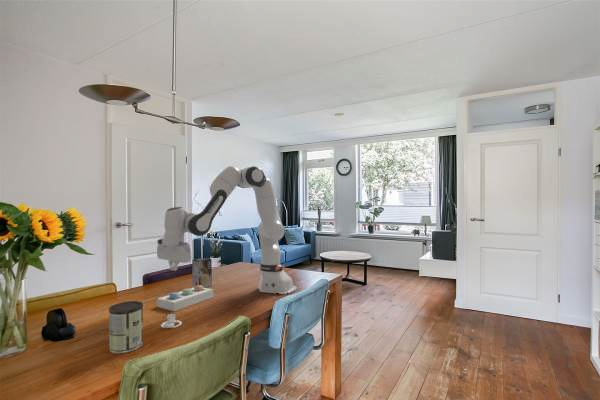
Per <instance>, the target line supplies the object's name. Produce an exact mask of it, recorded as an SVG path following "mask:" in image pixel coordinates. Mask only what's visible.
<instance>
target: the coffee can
mask: <svg viewBox="0 0 600 400" xmlns="http://www.w3.org/2000/svg"><path fill="white" fill-rule="evenodd" d="M143 306H144V303H143V302H142V301H138V300H137V301H134V300H130V301H123V302H119V303H116V304H113V305H111V306H109V307H108V313H109V315H108V316H109V319H108V320H109V322H108V324H109V325H108V326H109V328H108V329H109V331H108V332H109V335H108V336H109V339H108V340H109V348H108V349H109V352H110V353H112V354H126V353H130V352H133V351H135V350H138V349H139V348H141V347H142V346H143V345H144V344H143V343H144V342H143V340H144V339H143V337H144V336H143V333H144V332H143V331H144V329H143V319H144V318H143V317H144V316H143V309H144V308H143Z"/></svg>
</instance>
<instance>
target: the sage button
mask: <svg viewBox="0 0 600 400" xmlns="http://www.w3.org/2000/svg"><path fill="white" fill-rule="evenodd" d="M181 291H182V295H185V296H187V295H190V294H191V289H190V288H184V289H181Z"/></svg>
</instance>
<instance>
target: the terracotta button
mask: <svg viewBox="0 0 600 400" xmlns="http://www.w3.org/2000/svg"><path fill="white" fill-rule="evenodd" d="M194 291H196V292H200V291H203V285H196V286H194Z"/></svg>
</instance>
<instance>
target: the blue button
mask: <svg viewBox="0 0 600 400" xmlns="http://www.w3.org/2000/svg"><path fill="white" fill-rule="evenodd" d="M178 292H179V291H177V292H176V291H175V292H170V293H169V294H168V295H169V299H170V300H175V299H178V298H179V293H178Z"/></svg>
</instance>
